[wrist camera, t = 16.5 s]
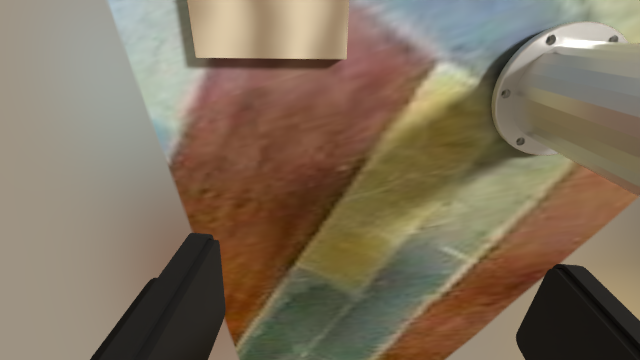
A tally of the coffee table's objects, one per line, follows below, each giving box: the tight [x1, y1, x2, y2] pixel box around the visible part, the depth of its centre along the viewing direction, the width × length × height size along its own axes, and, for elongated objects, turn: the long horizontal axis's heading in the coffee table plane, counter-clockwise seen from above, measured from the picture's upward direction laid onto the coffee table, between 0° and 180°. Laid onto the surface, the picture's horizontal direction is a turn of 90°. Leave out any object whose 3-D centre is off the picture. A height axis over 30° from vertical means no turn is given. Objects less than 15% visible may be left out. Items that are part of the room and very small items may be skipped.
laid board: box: [187, 0, 349, 59], centre depth 29 cm, size 14×6×2 cm, turn 90°
